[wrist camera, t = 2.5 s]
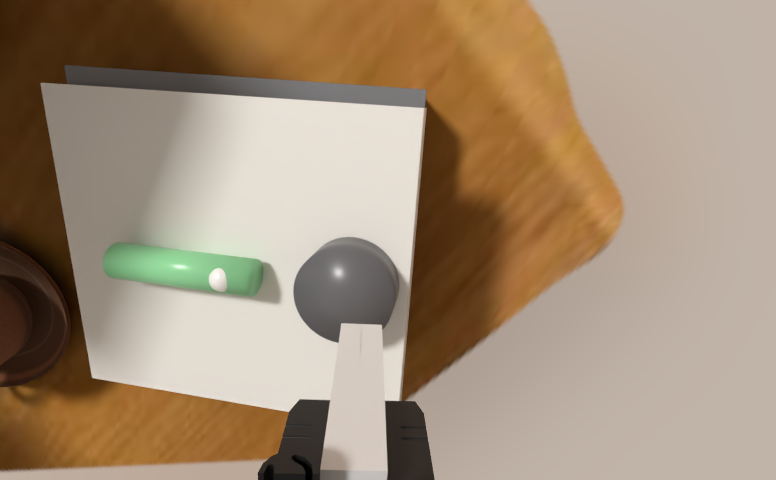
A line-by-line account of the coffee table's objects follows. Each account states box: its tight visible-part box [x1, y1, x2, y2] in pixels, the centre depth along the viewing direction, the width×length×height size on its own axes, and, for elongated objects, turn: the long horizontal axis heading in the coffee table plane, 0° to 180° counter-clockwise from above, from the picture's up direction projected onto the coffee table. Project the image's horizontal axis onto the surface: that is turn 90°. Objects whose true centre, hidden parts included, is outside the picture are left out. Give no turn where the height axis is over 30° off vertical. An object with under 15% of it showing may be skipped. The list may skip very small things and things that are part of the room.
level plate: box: [40, 83, 427, 412], centre depth 23 cm, size 20×18×4 cm
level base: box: [64, 65, 426, 108], centre depth 29 cm, size 20×20×4 cm
